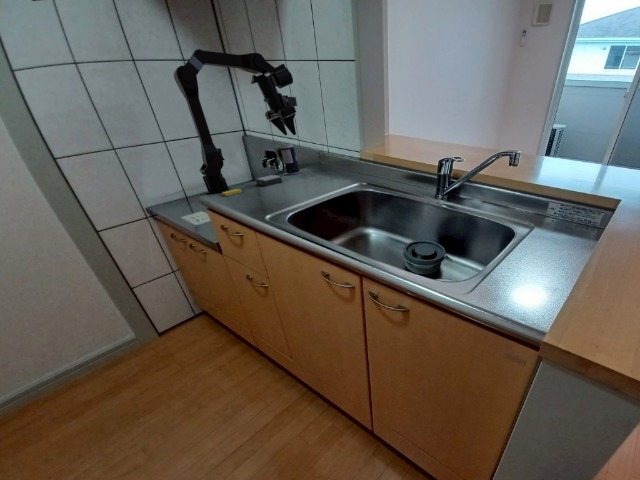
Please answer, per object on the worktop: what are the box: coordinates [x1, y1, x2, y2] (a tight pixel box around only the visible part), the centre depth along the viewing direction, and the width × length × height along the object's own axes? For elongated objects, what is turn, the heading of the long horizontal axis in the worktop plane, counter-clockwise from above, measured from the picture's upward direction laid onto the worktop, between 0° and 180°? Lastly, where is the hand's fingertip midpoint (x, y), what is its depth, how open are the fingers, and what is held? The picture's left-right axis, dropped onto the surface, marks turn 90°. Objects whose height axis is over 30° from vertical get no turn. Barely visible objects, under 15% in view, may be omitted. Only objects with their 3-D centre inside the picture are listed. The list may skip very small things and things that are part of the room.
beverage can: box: [279, 143, 301, 176], centre depth 141 cm, size 6×6×12 cm
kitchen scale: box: [255, 174, 283, 187], centre depth 129 cm, size 7×7×2 cm
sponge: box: [221, 188, 243, 197], centre depth 119 cm, size 6×4×1 cm, turn 136°
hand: (290, 134), depth 135 cm, fingers open, 9 cm apart
